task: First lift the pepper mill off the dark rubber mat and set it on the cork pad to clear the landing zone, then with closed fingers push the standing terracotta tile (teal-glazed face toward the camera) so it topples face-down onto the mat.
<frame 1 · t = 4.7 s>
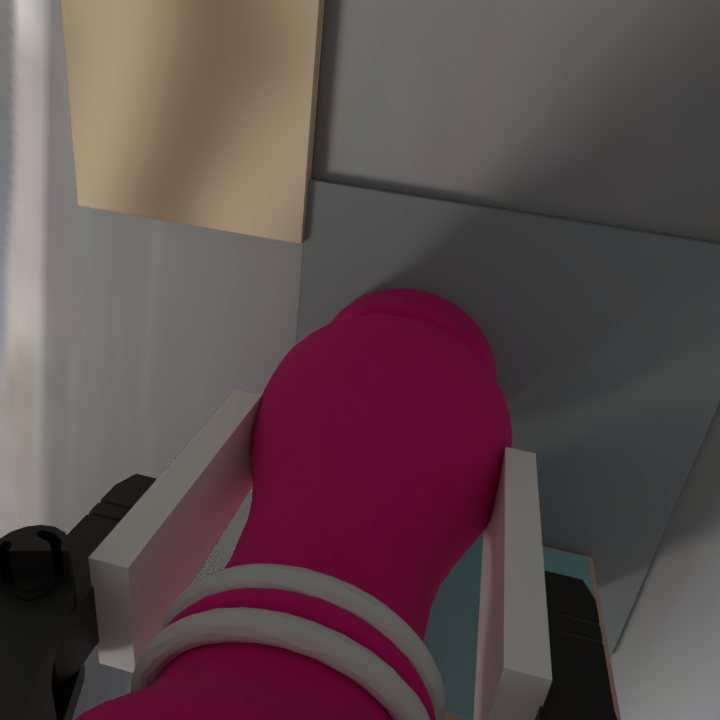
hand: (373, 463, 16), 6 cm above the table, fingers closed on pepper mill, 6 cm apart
cork pad: (194, 94, 19), on the table
mat: (477, 446, 22), on the table
tile: (479, 552, 24), resting on mat
pepper mill: (405, 370, 22), resting on mat, touching gripper
when the fingers open (7 cm above the table, at t = 9.6 s): pepper mill drops 1 cm, resting on cork pad.
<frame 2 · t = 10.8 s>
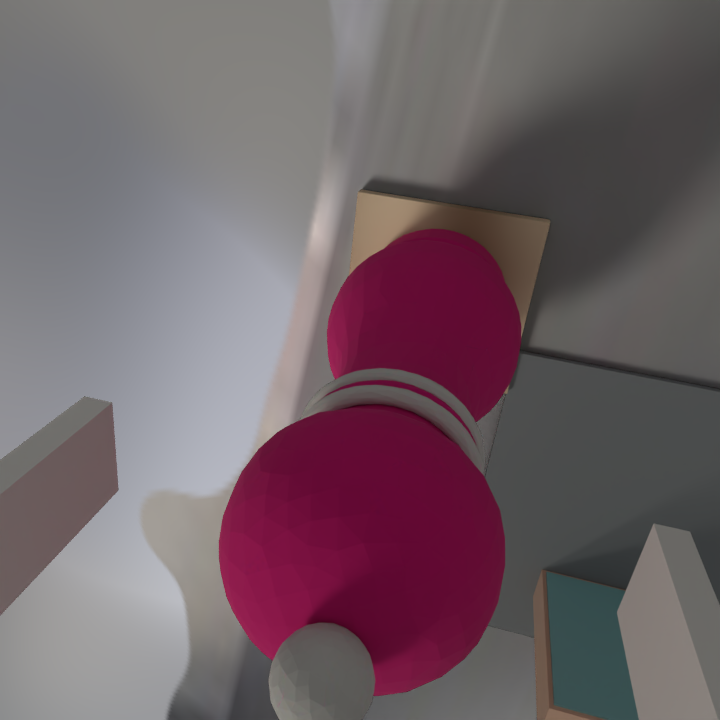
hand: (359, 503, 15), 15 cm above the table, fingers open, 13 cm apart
cork pad: (437, 292, 28), on the table
mat: (619, 528, 31), on the table
tile: (614, 602, 32), resting on mat
pepper mill: (434, 296, 27), resting on cork pad
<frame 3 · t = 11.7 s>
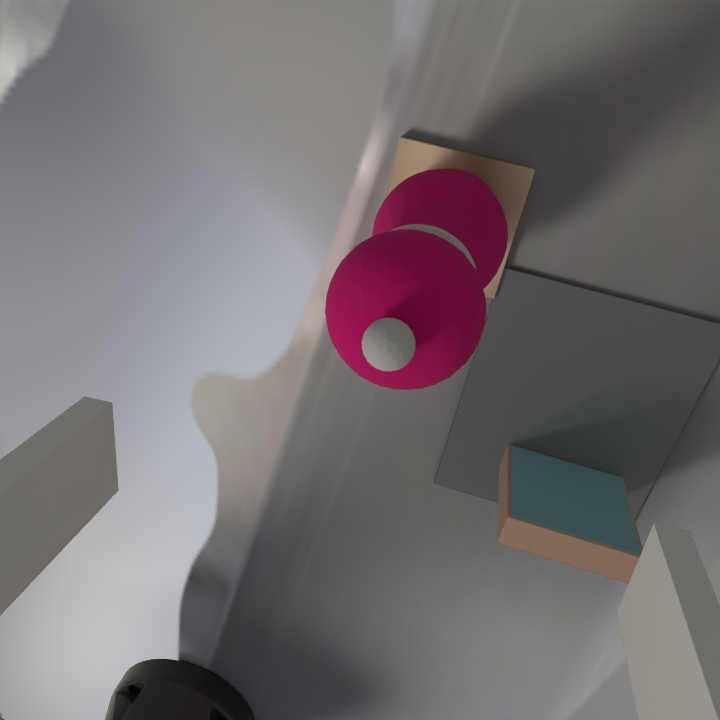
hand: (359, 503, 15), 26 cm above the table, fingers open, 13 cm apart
cork pad: (449, 219, 38), on the table
mat: (567, 412, 41), on the table
tile: (559, 472, 43), resting on mat
pepper mill: (447, 220, 37), resting on cork pad
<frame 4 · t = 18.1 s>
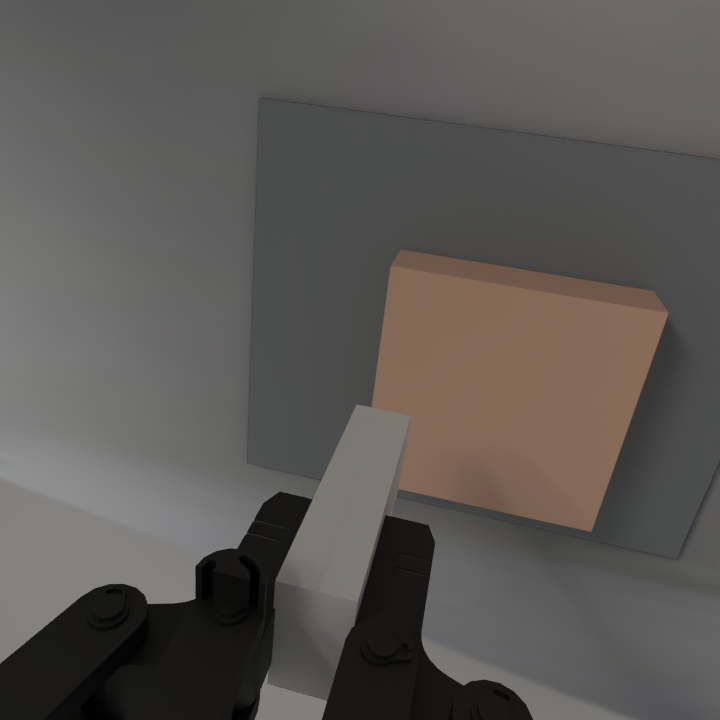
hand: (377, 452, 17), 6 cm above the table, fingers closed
mat: (486, 345, 21), on the table
tile: (380, 369, 21), point 1 cm above the table, tilted 90°, touching mat
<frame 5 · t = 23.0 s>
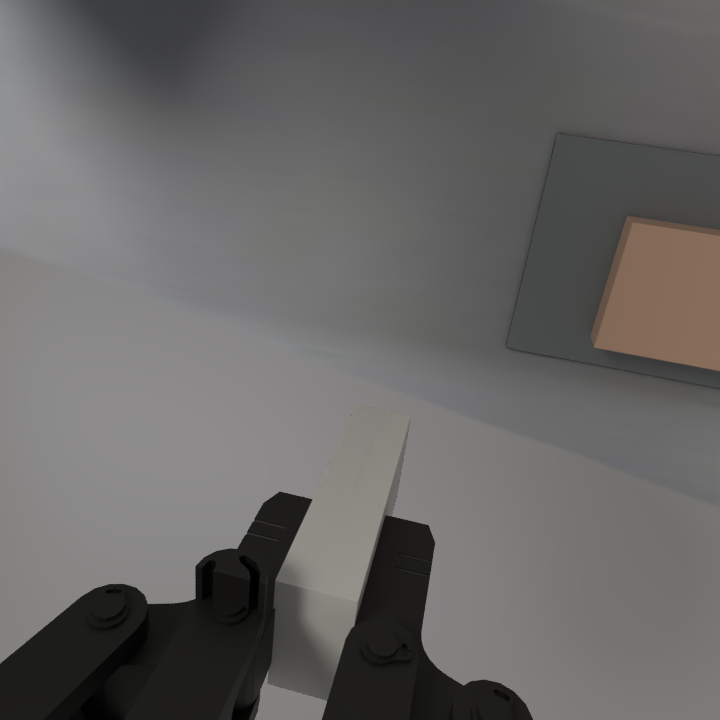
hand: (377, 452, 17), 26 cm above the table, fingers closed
mat: (667, 270, 38), on the table
tile: (610, 283, 38), point 1 cm above the table, tilted 90°, touching mat
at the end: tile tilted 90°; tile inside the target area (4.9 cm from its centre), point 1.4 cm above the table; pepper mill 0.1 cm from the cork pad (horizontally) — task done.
